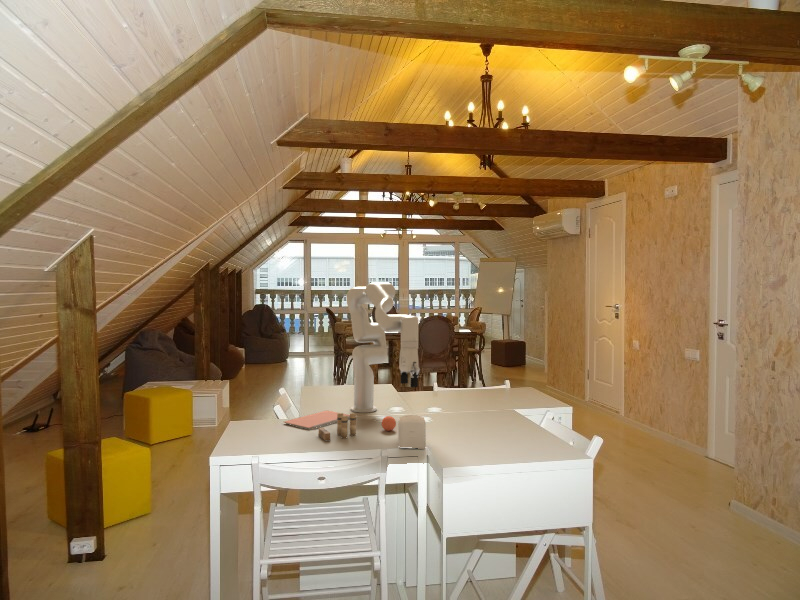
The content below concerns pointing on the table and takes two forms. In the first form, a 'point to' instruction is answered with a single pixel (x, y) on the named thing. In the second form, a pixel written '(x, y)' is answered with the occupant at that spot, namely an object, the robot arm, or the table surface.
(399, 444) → the photo printer
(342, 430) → the rear pin
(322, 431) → the block
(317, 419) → the notebook
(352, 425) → the front pin
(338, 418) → the rear pin
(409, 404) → the table surface
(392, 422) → the ball
